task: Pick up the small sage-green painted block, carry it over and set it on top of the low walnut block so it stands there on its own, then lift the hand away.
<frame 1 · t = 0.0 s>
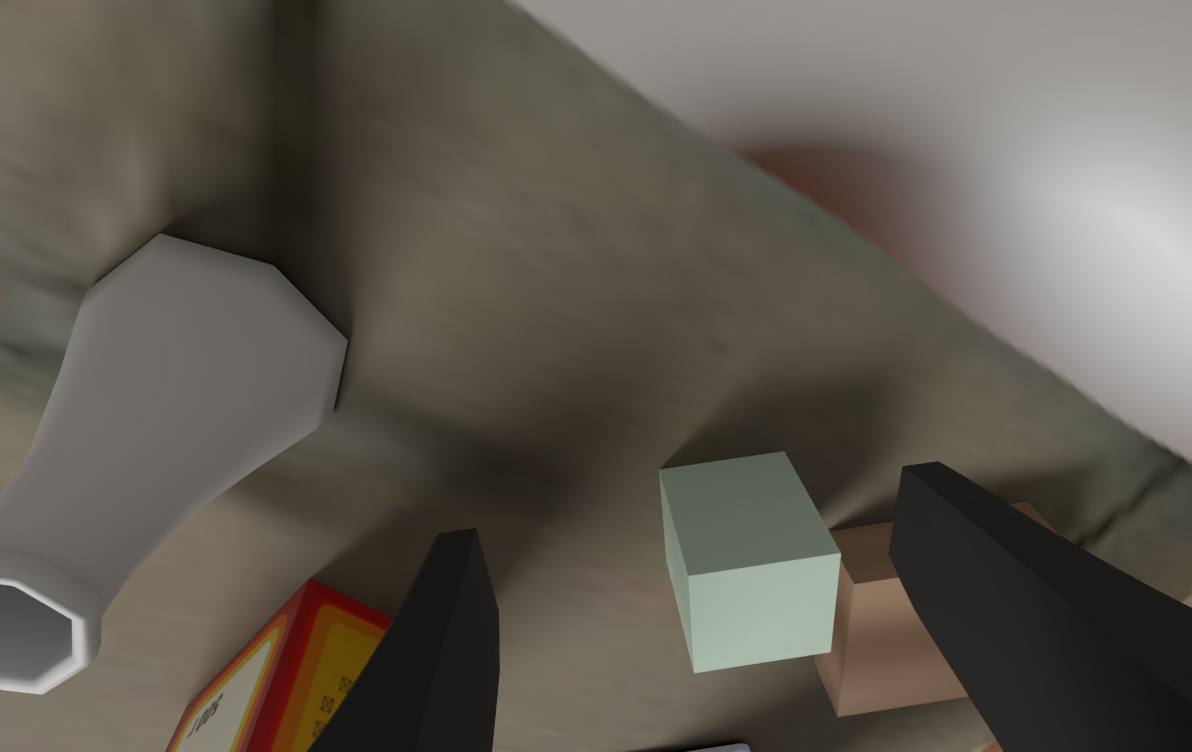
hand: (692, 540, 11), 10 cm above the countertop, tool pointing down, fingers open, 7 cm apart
baking soda box: (319, 673, 28), on the countertop
flask: (224, 351, 20), on the countertop
walnut block: (908, 580, 28), on the countertop
sage block: (722, 506, 25), on the countertop
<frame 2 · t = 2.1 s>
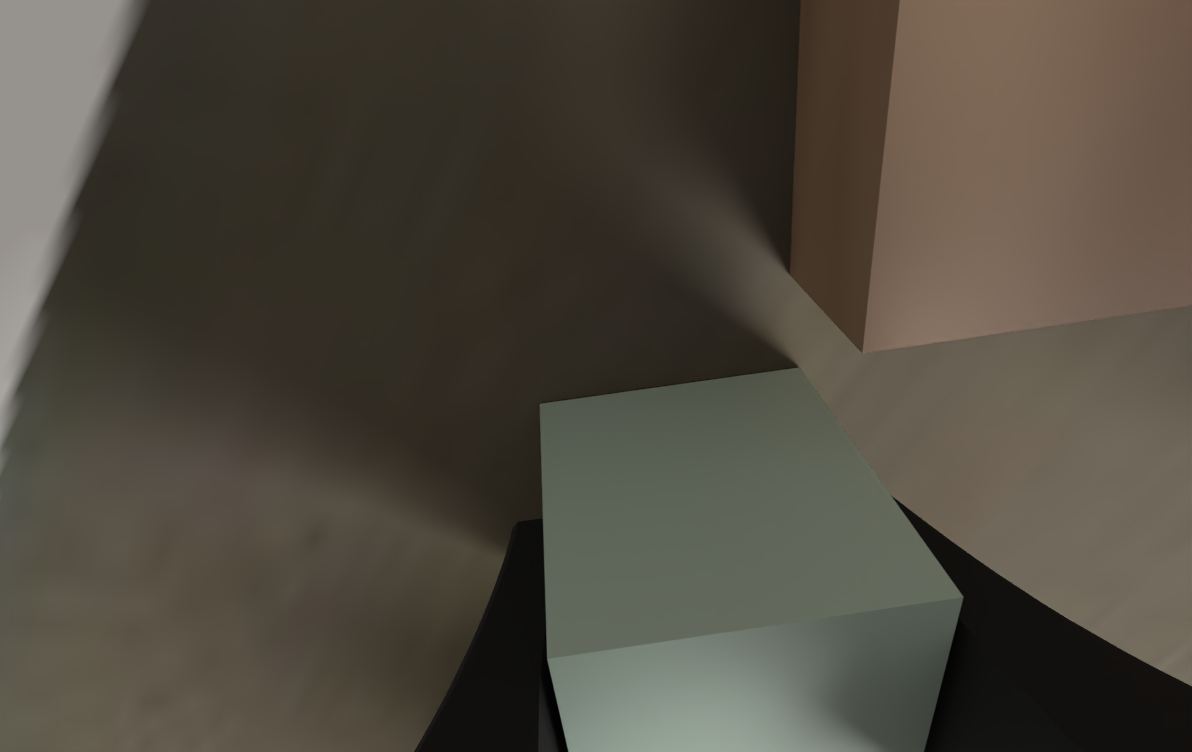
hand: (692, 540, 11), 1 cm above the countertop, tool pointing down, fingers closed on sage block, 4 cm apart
sage block: (676, 486, 13), on the countertop, touching gripper
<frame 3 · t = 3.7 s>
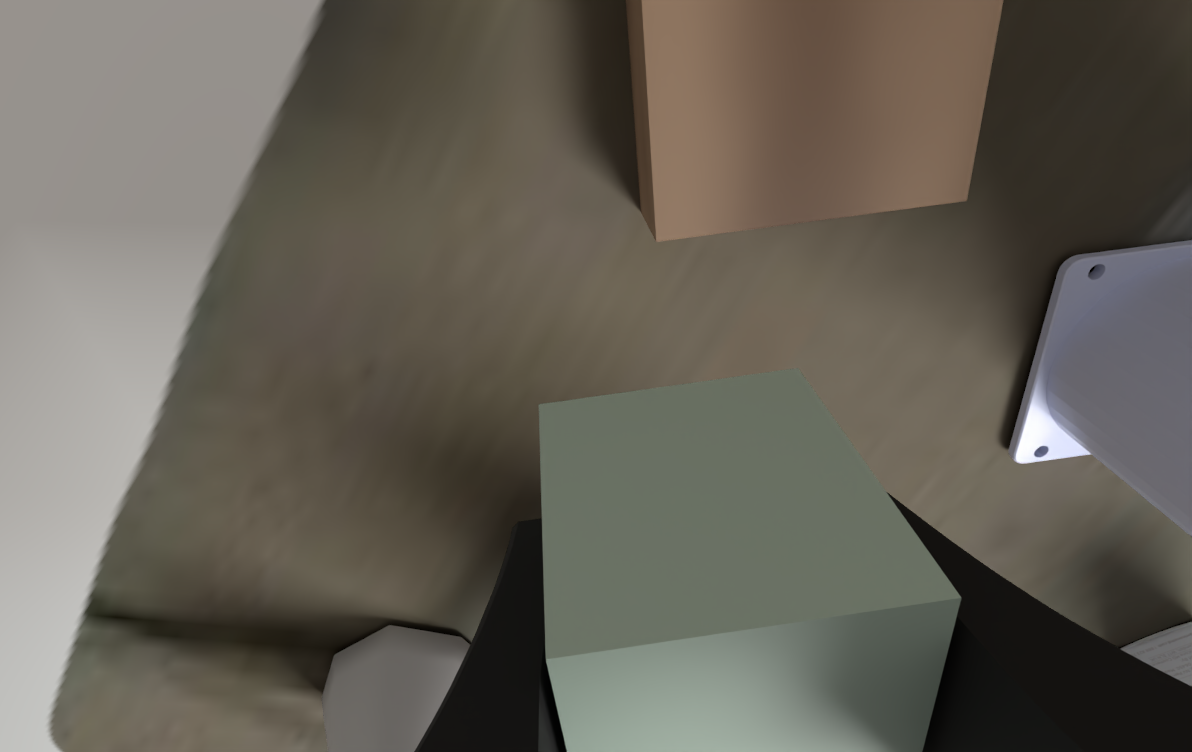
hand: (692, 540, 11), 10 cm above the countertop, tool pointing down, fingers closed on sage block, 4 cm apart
flask: (414, 674, 29), on the countertop
walnut block: (779, 37, 17), on the countertop
sage block: (675, 486, 13), point 9 cm above the countertop, touching gripper
skincare box: (1148, 662, 33), on the countertop
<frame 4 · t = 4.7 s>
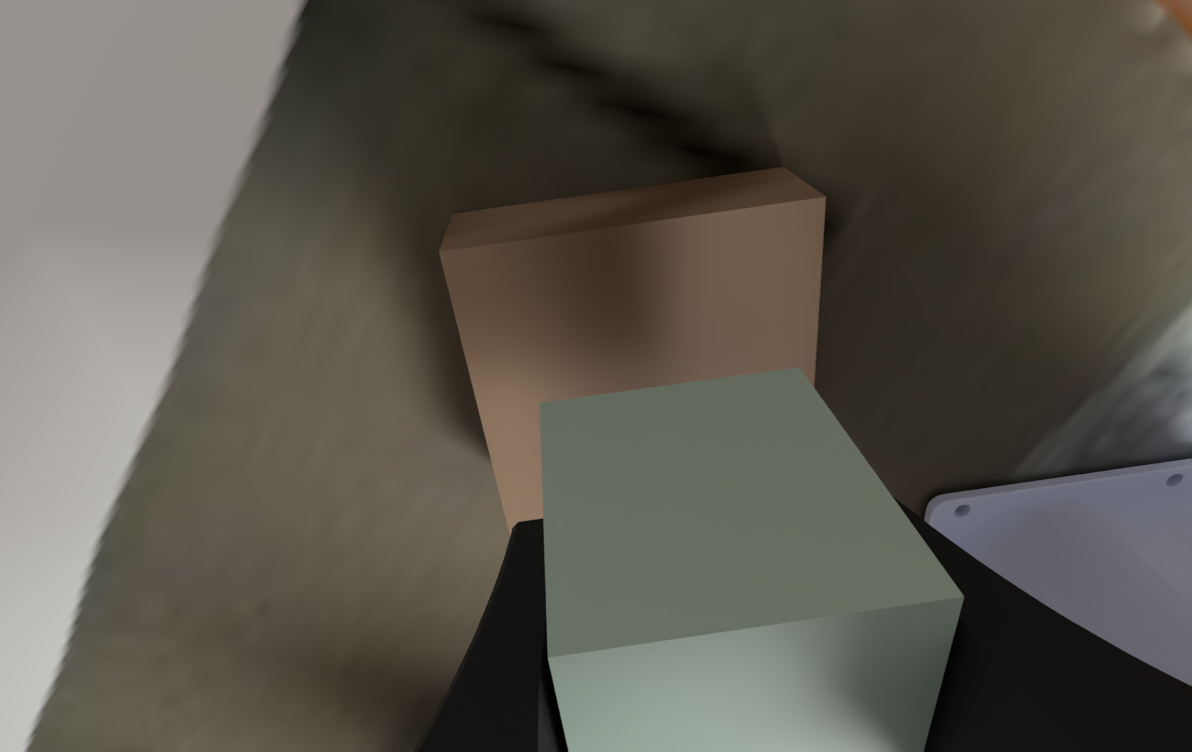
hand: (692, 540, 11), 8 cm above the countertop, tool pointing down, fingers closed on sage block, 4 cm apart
walnut block: (631, 331, 18), on the countertop
sage block: (675, 485, 13), point 6 cm above the countertop, touching gripper
when the fingers open (6 cm above the countertop, at t = 5.5 s): sage block drops 2 cm, point 3 cm above the countertop.
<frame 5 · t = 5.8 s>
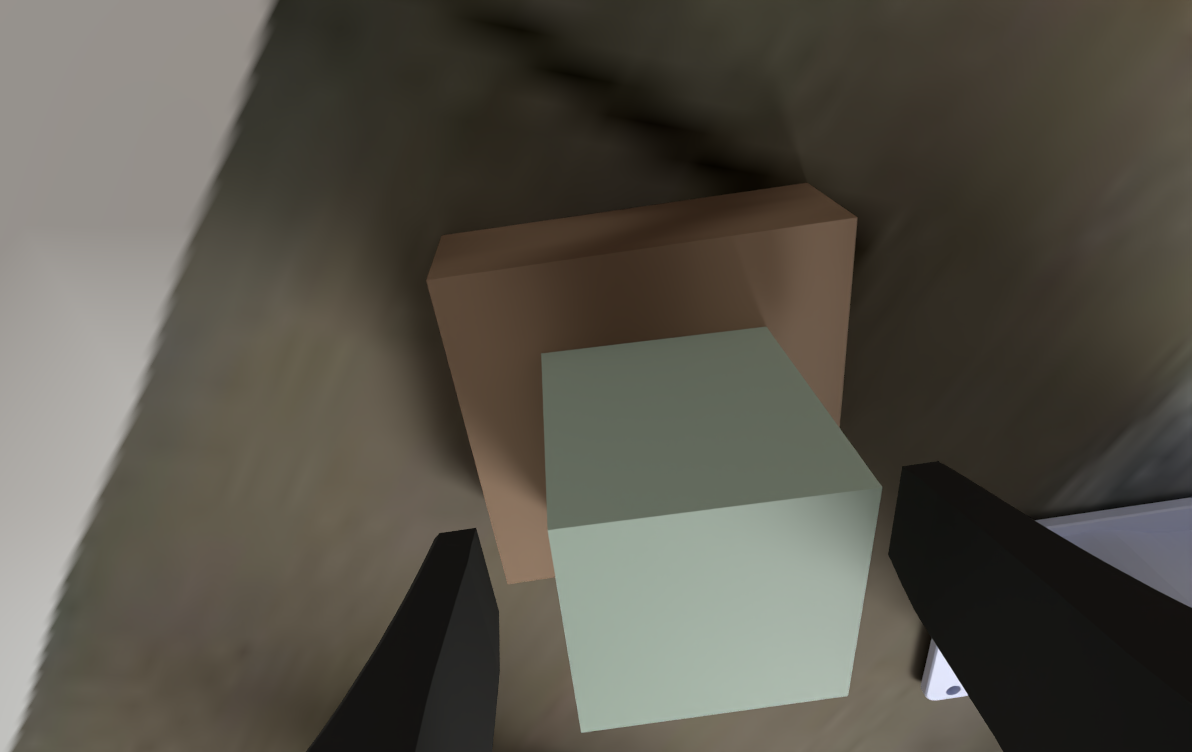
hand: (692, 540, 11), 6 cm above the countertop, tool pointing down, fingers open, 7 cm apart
walnut block: (638, 359, 17), on the countertop
sage block: (658, 433, 14), point 3 cm above the countertop
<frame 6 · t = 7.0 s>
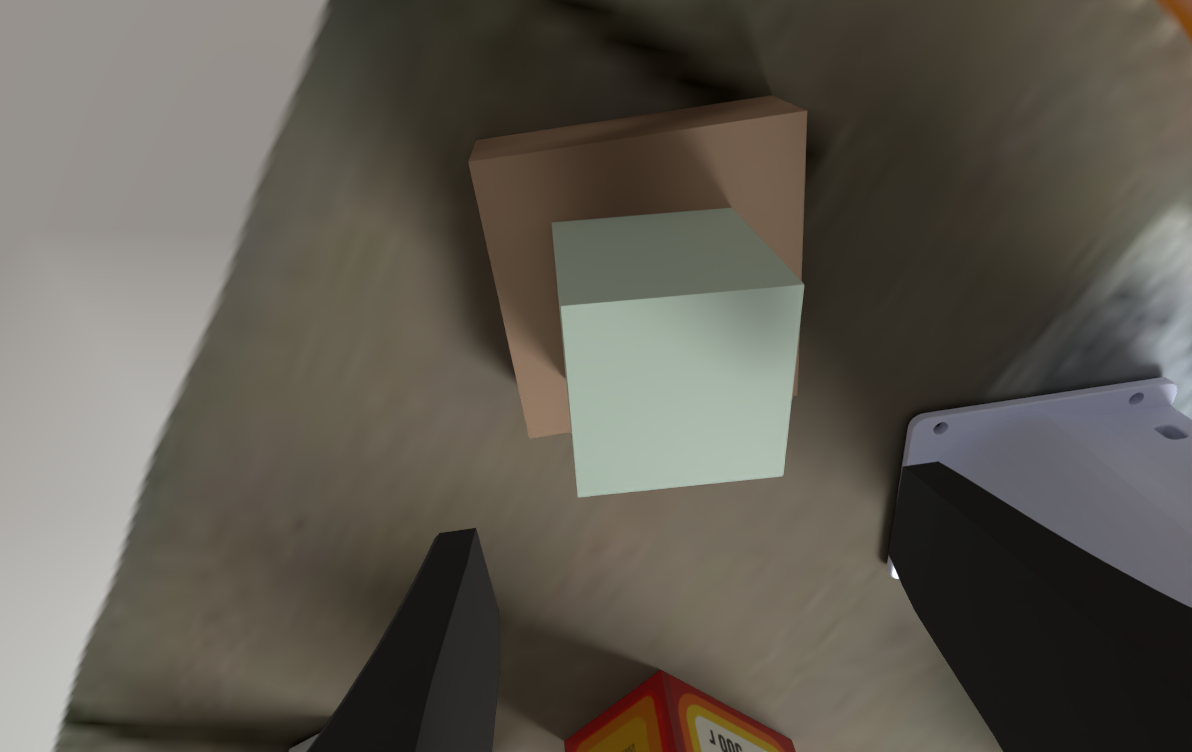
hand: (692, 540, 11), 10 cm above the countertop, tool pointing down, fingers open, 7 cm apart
baking soda box: (680, 736, 33), on the countertop
walnut block: (636, 253, 20), on the countertop
sage block: (643, 298, 18), point 3 cm above the countertop
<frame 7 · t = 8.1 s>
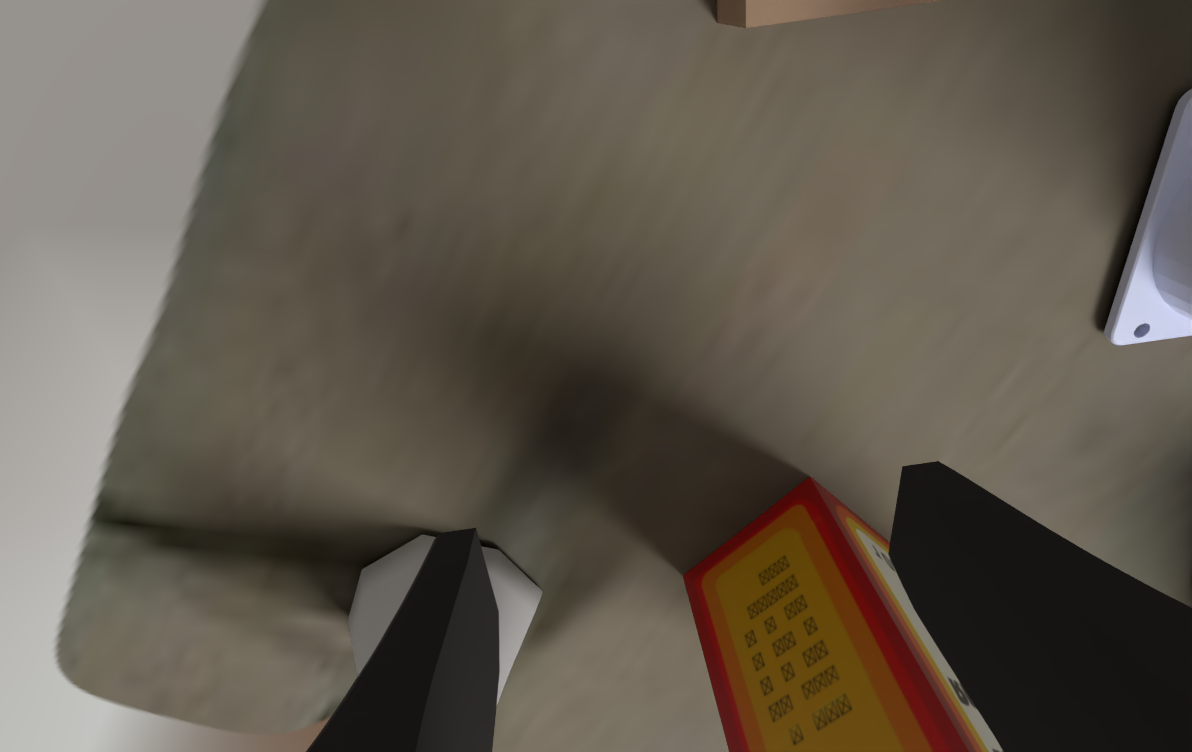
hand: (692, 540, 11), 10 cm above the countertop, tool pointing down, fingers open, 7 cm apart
baking soda box: (814, 577, 28), on the countertop
flask: (446, 596, 26), on the countertop
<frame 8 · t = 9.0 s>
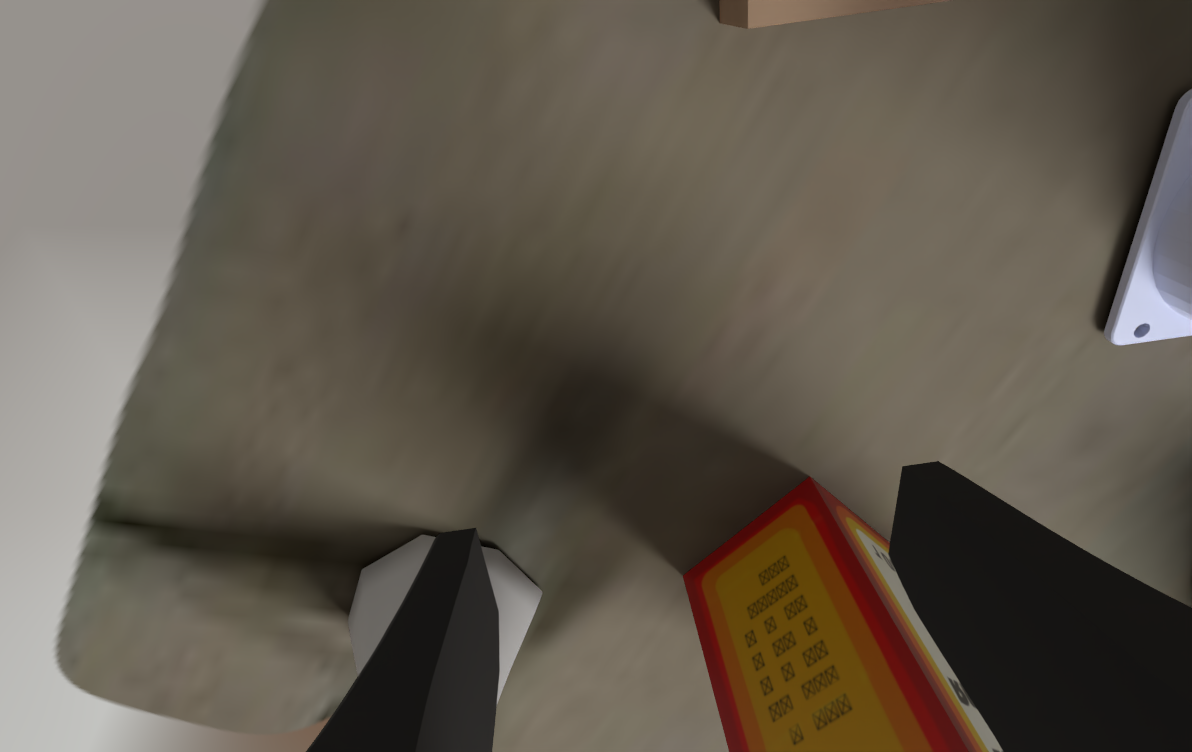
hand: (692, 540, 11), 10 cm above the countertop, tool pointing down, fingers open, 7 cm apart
baking soda box: (814, 577, 28), on the countertop
flask: (446, 596, 26), on the countertop
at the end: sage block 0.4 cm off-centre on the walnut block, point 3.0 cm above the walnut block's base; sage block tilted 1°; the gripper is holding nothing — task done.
